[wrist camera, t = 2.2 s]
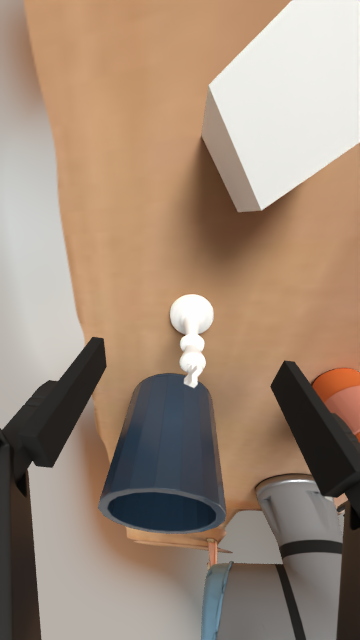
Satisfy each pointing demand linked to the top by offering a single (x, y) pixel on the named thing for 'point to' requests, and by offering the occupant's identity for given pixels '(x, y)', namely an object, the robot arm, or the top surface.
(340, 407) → the cup with straw
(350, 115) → the white cube
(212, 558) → the grandmother figurine
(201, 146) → the top surface
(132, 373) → the top surface
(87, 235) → the top surface
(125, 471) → the tin
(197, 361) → the chess piece
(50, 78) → the top surface
